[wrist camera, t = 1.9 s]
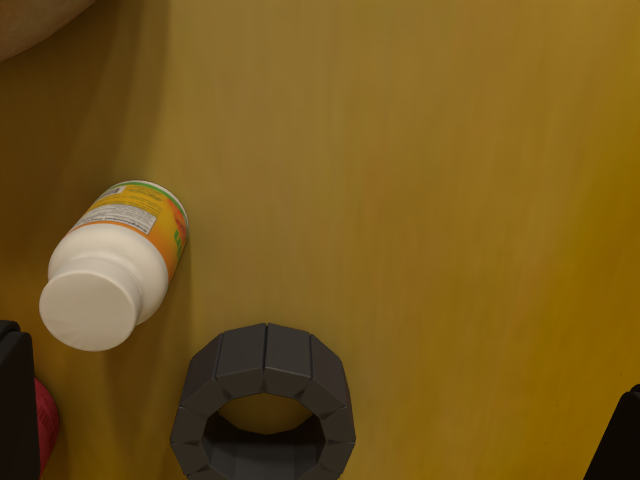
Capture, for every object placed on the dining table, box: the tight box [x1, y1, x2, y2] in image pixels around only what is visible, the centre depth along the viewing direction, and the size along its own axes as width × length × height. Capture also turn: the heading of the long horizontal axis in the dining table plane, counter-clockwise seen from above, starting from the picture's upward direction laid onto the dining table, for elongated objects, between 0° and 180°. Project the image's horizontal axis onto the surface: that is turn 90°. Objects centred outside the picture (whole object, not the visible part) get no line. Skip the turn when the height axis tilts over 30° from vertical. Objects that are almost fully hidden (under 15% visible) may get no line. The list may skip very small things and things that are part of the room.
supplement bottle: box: [39, 180, 189, 352], centre depth 28 cm, size 5×5×10 cm
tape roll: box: [170, 323, 356, 480], centre depth 36 cm, size 11×11×4 cm
